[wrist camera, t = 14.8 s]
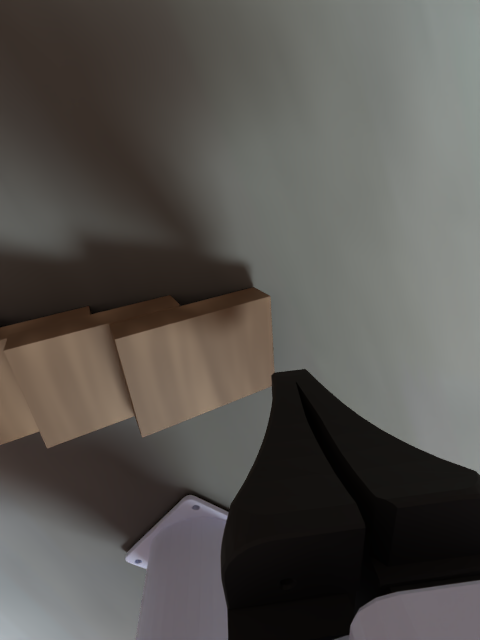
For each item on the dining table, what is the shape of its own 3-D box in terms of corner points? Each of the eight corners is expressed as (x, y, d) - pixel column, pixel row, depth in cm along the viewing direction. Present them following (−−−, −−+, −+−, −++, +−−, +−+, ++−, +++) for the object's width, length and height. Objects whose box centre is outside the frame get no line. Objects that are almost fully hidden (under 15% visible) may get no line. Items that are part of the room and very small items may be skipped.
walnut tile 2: (179, 304, 15) (3, 350, 13) (195, 393, 17) (47, 448, 15) (169, 295, 17) (8, 334, 14) (185, 378, 19) (47, 426, 16)
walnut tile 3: (90, 316, 15) (-102, 365, 13) (118, 403, 17) (-42, 459, 15) (88, 306, 17) (-86, 348, 14) (115, 387, 19) (-33, 436, 16)
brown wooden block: (270, 296, 16) (114, 339, 13) (274, 384, 18) (142, 437, 15) (253, 287, 17) (109, 324, 14) (259, 370, 19) (135, 417, 16)
